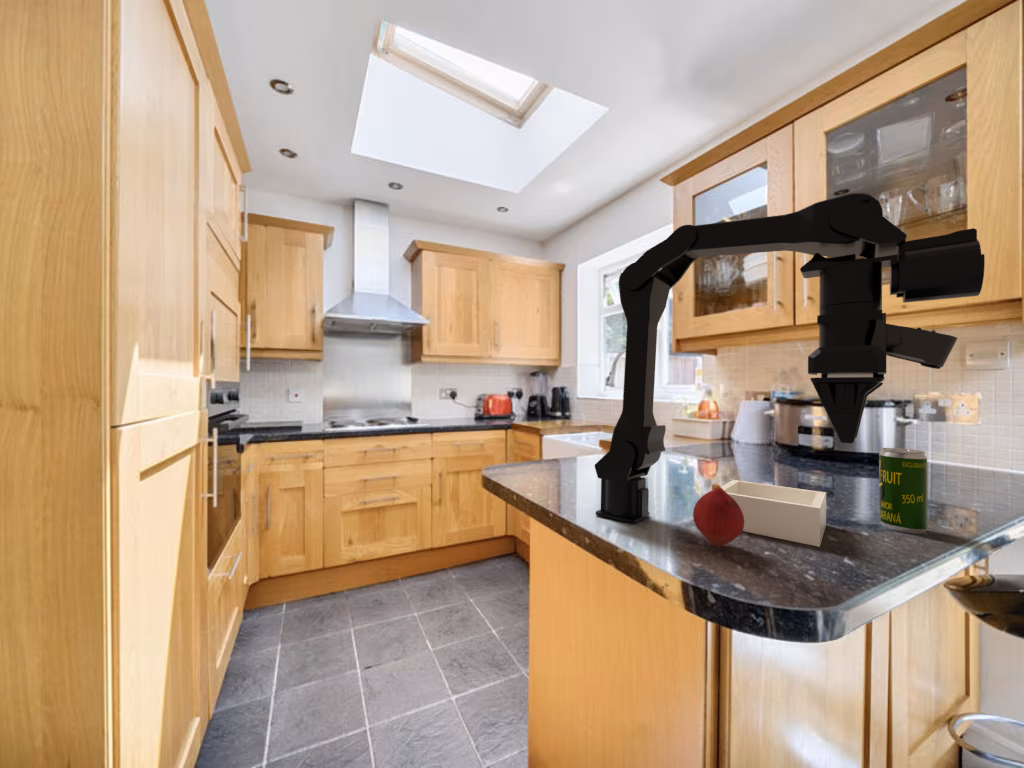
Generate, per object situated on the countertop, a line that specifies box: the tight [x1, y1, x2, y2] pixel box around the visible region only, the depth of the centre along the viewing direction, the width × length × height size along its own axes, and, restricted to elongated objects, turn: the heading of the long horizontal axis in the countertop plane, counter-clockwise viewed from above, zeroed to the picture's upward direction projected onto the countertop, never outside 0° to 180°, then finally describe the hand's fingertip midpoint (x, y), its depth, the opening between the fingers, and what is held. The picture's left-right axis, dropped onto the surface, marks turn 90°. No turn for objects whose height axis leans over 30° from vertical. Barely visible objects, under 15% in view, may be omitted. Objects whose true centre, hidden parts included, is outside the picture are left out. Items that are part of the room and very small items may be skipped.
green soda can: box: [878, 447, 929, 535], centre depth 63 cm, size 5×5×12 cm
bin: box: [720, 479, 827, 548], centre depth 63 cm, size 13×13×5 cm
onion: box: [692, 483, 744, 548], centre depth 53 cm, size 6×6×8 cm
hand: (849, 440), depth 48 cm, fingers open, 9 cm apart
